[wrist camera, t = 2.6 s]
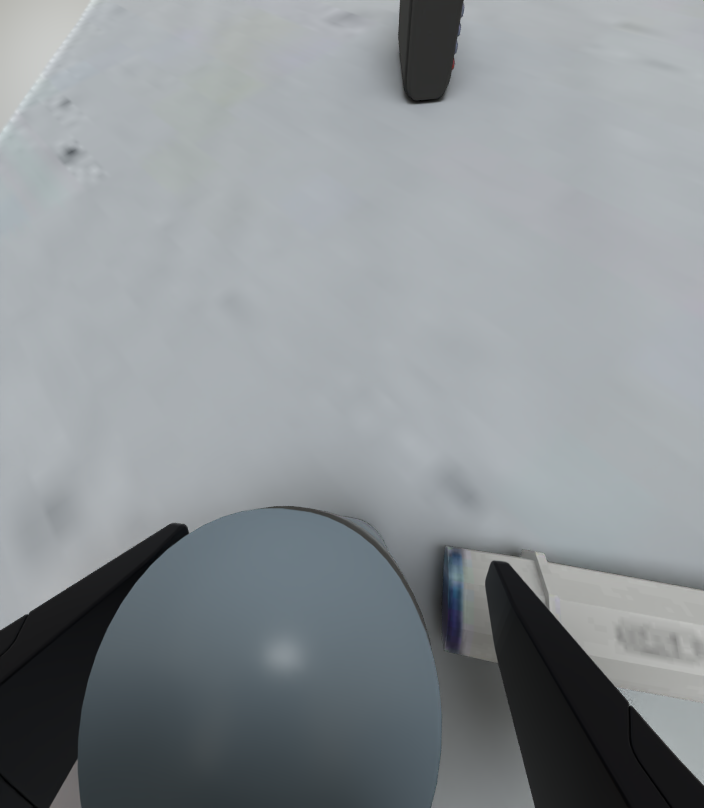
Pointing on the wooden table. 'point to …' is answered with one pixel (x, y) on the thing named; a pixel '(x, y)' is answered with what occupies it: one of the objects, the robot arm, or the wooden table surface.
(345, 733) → the plug
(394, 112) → the wooden table surface
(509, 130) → the wooden table surface
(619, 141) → the wooden table surface
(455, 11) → the black upright block
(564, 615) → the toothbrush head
